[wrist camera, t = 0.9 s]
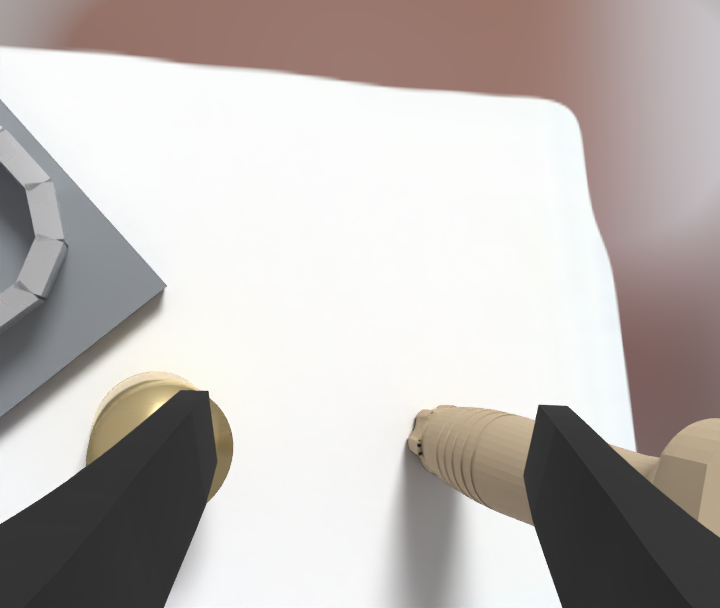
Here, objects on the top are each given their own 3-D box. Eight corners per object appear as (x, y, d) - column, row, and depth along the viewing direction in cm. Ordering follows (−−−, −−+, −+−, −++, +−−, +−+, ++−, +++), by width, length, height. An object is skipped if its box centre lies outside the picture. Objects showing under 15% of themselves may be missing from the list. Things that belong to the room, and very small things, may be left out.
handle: (399, 510, 26) (714, 719, 12) (383, 382, 26) (684, 450, 12) (477, 484, 28) (820, 637, 14) (462, 365, 28) (796, 407, 14)
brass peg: (146, 504, 21) (155, 554, 17) (65, 427, 20) (51, 458, 15) (230, 424, 23) (259, 450, 18) (159, 349, 21) (172, 356, 17)
